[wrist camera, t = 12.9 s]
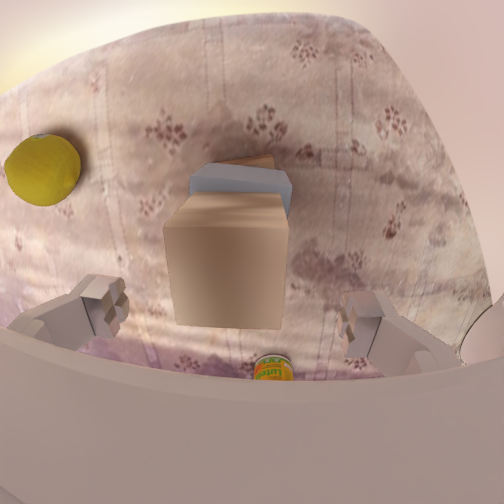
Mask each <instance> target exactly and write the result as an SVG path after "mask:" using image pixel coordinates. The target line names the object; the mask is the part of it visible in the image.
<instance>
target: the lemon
mask: <svg viewBox="0 0 504 504" xmlns="http://www.w3.org/2000/svg"><path fill="white" fill-rule="evenodd" d="M4 165H5V173H6V176H7V180H8V184H9V186H10V187H11V189H12V190H13V192H14V193H15V194H16V195H17V196H18V197H20V198H21V199H23V200H24V201H26V202H28V203H31V204H33V205H36V206H51V205H55V204H57V203H59V202H60V201H62V200H63V199H65V198H66V197H67V196H68V195H69V194H70V193H71V192H72V190H73V189H74V187H75V185H76V183H77V181H78V178H79V175H80V170H81V161H80V157H79V154H78V152H77V151H76V149H75V148H74V147H73V146H72V144H71V143H70V142H68V141H67V140H66V139H64V138H62V137H60V136H56V135H52V134H37V135H34V136H31V137H29V138H27V139H25V140H24V141H23V142H21V143H20V144H19V145H18V146H17V147H16V148H15V149H14V150H13V152H12V153H11V154H10V156H9V157H8V158H7V160H6V161H5V164H4Z"/></svg>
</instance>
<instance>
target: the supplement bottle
mask: <svg viewBox="0 0 504 504" xmlns="http://www.w3.org/2000/svg"><path fill="white" fill-rule="evenodd" d="M254 380H274V381H293V371H292V364H291V362H290V361H289V360H288V359H287V358H286V357H284V356H281V355H267V356H264V357H262V358H260V359H259V360H258V361H257V362H256V364H255V367H254Z"/></svg>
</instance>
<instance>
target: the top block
mask: <svg viewBox="0 0 504 504" xmlns="http://www.w3.org/2000/svg"><path fill="white" fill-rule="evenodd" d="M292 188H293V186H292V184H291V182H290V180H289V178H288V176H287V174H286V172H285V171H283V170H275V169H268V168H259V167H251V166H241V165H231V164H220V163H209V162H208V163H207V164H205V165H204V166H203V167H201V168H200V169H198V170H197V171H196V172H194V173H193V174H192V175H190V186H189V197H190V196H191V195H192V194H193V193H194V192H272V193H280V195H281V199H282V202H283V206H284V210H285V214H286V218H287V220H288V213H289V207H290V201H291V194H292Z"/></svg>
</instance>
